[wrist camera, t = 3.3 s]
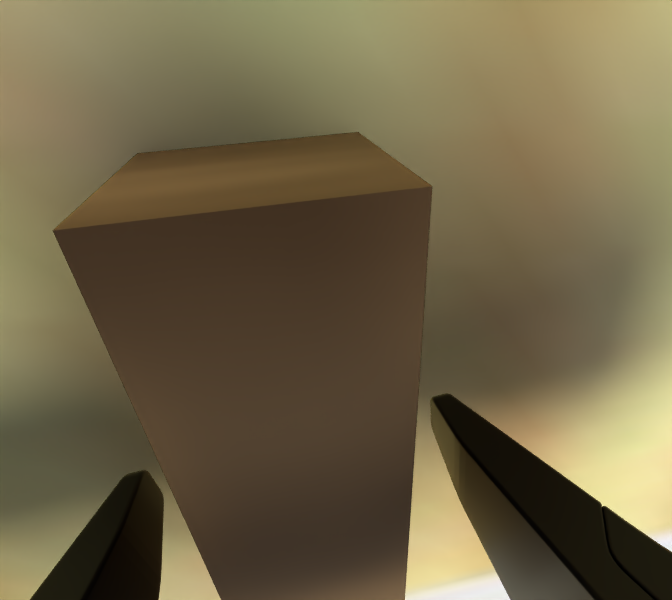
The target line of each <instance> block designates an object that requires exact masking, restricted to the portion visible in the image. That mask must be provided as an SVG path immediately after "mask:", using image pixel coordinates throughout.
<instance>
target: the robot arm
mask: <svg viewBox="0 0 672 600" xmlns="http://www.w3.org/2000/svg"><path fill="white" fill-rule="evenodd" d="M430 410H431V425H432V429H433V432H434V435H435V438H436V440H437V443H438V446H439V448H440V451H441V453H442V456H443V459H444V461H445V464H446V466H447V469H448V472H449V474H450V477H451V480H452V482H453V485H454V487H455V490H456V492H457V495H458V497H459V499H460V501H461V504H462V506H463V508H464V510H465V512H466V514H467V516H468V518H469V520H470V521H471V523H472V525H473V527H474V529H475V531H476V533H477V535H478V537H479V539H480V541H481V543H482V545H483V547H484V549H485V551H486V553H487V555H488V557H489V559H490V560H491V562H492V564H493V566H494V568H495V570H496V572H497V574H498V576H499V578H500V580H501V582H502V584H503V586H504V588H505V590H506V592H507V594H508V596H509V598H510V600H672V552H671V551H669V550H668V549H666V548H665V547H663V546H662V545H660V544H659V543H657V542H656V541H654V540H653V539H651V538H650V537H648V536H647V535H646V534H644V533H643V532H641V531H640V530H638V529H637V528H635V527H634V526H633V525H631V524H630V523H628V522H627V521H625V520H624V519H623V518H621V517H620V516H618V515H617V514H616V513H614V512H613V511H612V510H610V509H609V508H607V507H606V506H602V505H601V503H600V502H599V501H598V500H596V499H595V498H593V497H592V496H591V495H589V494H588V493H586V492H585V491H584V490H582V489H581V488H580V487H578V486H577V485H575V484H574V483H573V482H571V481H570V480H568V479H567V478H566V477H564V476H563V475H562V474H560V473H559V472H557V471H556V470H555V469H553V468H552V467H550V466H549V465H548V464H546V463H545V462H544V461H542V460H541V459H539V458H538V457H537V456H535V455H534V454H533V453H531V452H530V451H528V450H527V449H526V448H524V447H523V446H521V445H520V444H519V443H517V442H516V441H515V440H513V439H512V438H510V437H509V436H508V435H506V434H505V433H503V432H502V431H501V430H499V429H498V428H497V427H495V426H494V425H492V424H491V423H490V422H488V421H487V420H485V419H484V418H483V417H481V416H480V415H479V414H477V413H476V412H474V411H473V410H472V409H470V408H469V407H467V406H466V405H465V404H463V403H462V402H461V401H459V400H458V399H456V398H455V397H454V396H452V395H451V394H448V393H446V394H442V395H438V396H434V397H432V398H431V400H430ZM163 511H164V499H163V494H162V492H161V490H160V488H159V487H158V485H157V484H156V482H155V481H154V479H153V478H152V476H151V475H150V473H149V472H148V471H146V470H141V471H137V472H133V473H129V474H127V475H125V476H124V477H123V478H122V479H121V480H120V482H119V483H118V484H117V486H116V487H115V488H114V490H113V491H112V492H111V494H110V495H109V496H108V498H107V499H106V500H105V501H104V503H103V504H102V505H101V507H100V508H99V509H98V511H97V512H96V513H95V515H94V516H93V517H92V519H91V520H90V521H89V523H88V524H87V525H86V527H85V528H84V529H83V530H82V532H81V533H80V534H79V536H78V537H77V538H76V540H75V541H74V542H73V544H72V545H71V546H70V548H69V549H68V550H67V552H66V553H65V554H64V555H63V557H62V558H61V559H60V561H59V562H58V563H57V565H56V566H55V567H54V569H53V570H52V571H51V573H50V574H49V575H48V577H47V578H46V579H45V581H44V582H43V583H42V584H41V586H40V587H39V588H38V590H37V591H36V592H35V594H34V595H33V596H32V598H31V599H30V600H158V598H159V591H160V582H161V568H162V540H163Z"/></svg>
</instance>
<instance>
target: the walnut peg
mask: <svg viewBox="0 0 672 600" xmlns="http://www.w3.org/2000/svg"><path fill="white" fill-rule="evenodd" d="M431 198H432V186H431V185H430V184H428V183H427V182H426V181H424V180H423V179H421V178H420V177H419V176H417V175H416V174H415V173H413V172H412V171H411V170H409V169H408V168H406V167H405V166H404V165H402V164H401V163H400V162H398V161H397V160H396V159H394V158H393V157H391V156H390V155H389V154H387V153H386V152H385V151H383V150H382V149H381V148H379V147H378V146H376V145H375V144H374V143H372V142H371V141H370V140H368V139H367V138H366V137H364V136H363V135H361V134H360V133H359V132H354V133H344V134H333V135H323V136H312V137H302V138H292V139H281V140H271V141H261V142H250V143H240V144H230V145H219V146H209V147H199V148H188V149H178V150H168V151H157V152H147V153H137V154H136V155H135V156H134V157H133V158H132V159H131V160H130V161H128V162H127V163H126V164H125V165H124V166H123V167H122V168H121V169H120V170H119V171H118V172H116V173H115V174H114V175H113V176H112V177H111V178H110V179H109V180H108V181H107V182H105V183H104V184H103V185H102V186H101V187H100V188H99V189H98V190H97V191H96V192H94V193H93V194H92V195H91V196H90V197H89V198H88V199H87V200H86V201H85V202H83V203H82V204H81V205H80V206H79V207H78V208H77V209H76V210H75V211H74V212H72V213H71V214H70V215H69V216H68V217H67V218H66V219H65V220H64V221H63V222H61V223H60V224H59V225H58V226H57V227H56V228H55V229H54V230H53V232H54V235H55V237H56V239H57V241H58V243H59V245H60V248H61V250H62V252H63V254H64V256H65V259H66V261H67V263H68V265H69V267H70V270H71V272H72V274H73V276H74V278H75V280H76V283H77V285H78V287H79V289H80V291H81V294H82V296H83V298H84V300H85V302H86V305H87V307H88V309H89V311H90V313H91V316H92V318H93V320H94V322H95V324H96V326H97V329H98V331H99V333H100V335H101V337H102V340H103V342H104V344H105V346H106V348H107V351H108V353H109V355H110V357H111V359H112V362H113V364H114V366H115V368H116V370H117V372H118V375H119V377H120V379H121V381H122V383H123V386H124V388H125V390H126V392H127V394H128V397H129V399H130V401H131V403H132V405H133V407H134V410H135V412H136V414H137V416H138V418H139V421H140V423H141V425H142V427H143V429H144V432H145V434H146V436H147V438H148V440H149V443H150V445H151V447H152V449H153V451H154V453H155V456H156V458H157V460H158V462H159V464H160V467H161V469H162V471H163V473H164V475H165V478H166V480H167V482H168V484H169V486H170V489H171V491H172V493H173V495H174V497H175V499H176V502H177V504H178V506H179V508H180V510H181V513H182V515H183V517H184V519H185V521H186V524H187V526H188V528H189V530H190V532H191V534H192V537H193V539H194V541H195V543H196V545H197V548H198V550H199V552H200V554H201V556H202V559H203V561H204V563H205V565H206V567H207V570H208V572H209V574H210V576H211V578H212V580H213V583H214V585H215V587H216V589H217V591H218V594H219V596H220V598H221V600H405V588H406V573H407V558H408V543H409V528H410V513H411V498H412V483H413V468H414V453H415V438H416V423H417V408H418V393H419V378H420V363H421V348H422V333H423V318H424V303H425V288H426V273H427V258H428V243H429V228H430V213H431Z"/></svg>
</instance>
